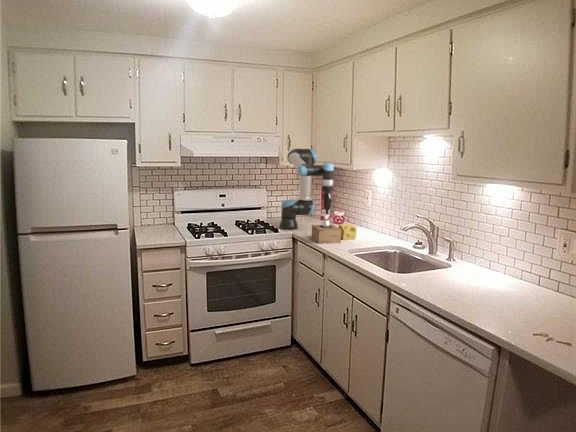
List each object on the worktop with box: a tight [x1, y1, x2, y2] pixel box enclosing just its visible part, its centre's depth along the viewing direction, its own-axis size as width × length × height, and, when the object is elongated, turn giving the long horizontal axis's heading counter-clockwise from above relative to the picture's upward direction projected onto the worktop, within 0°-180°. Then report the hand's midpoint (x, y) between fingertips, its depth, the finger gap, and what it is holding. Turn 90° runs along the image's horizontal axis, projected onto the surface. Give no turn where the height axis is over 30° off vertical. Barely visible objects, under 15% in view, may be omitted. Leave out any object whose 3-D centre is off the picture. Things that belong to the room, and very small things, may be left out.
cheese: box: [337, 223, 358, 241], centre depth 313 cm, size 10×11×10 cm
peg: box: [322, 218, 331, 227], centre depth 303 cm, size 5×5×9 cm
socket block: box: [311, 224, 342, 245], centre depth 304 cm, size 18×16×10 cm
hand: (326, 218), depth 302 cm, fingers closed
